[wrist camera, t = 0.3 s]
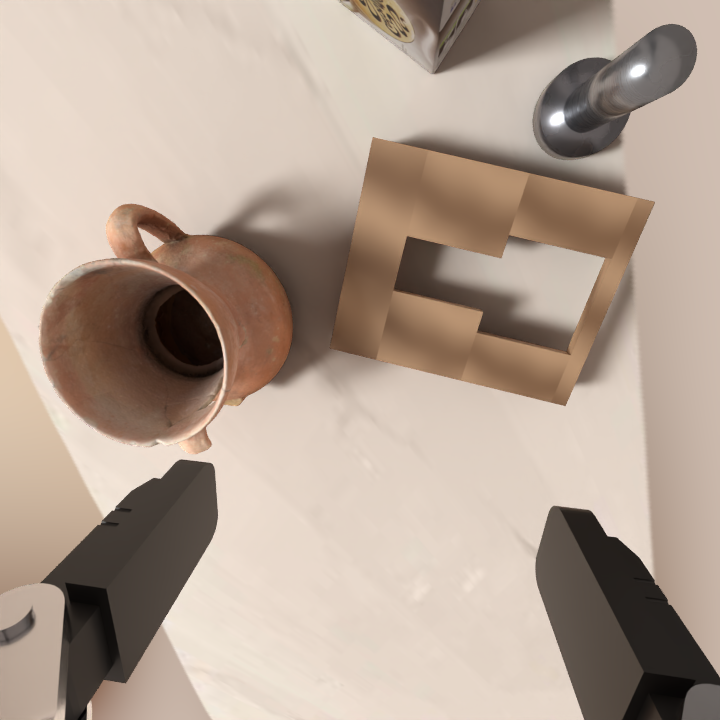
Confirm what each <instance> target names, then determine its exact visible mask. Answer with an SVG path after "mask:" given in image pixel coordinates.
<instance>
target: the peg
mask: <svg viewBox="0 0 720 720" xmlns="http://www.w3.org/2000/svg"><path fill="white" fill-rule="evenodd" d="M696 47H697V46H696V42H695V39H694V37H693V35H692V34H691V32H690V31H689V30H687V29H686V28H685V27H683V26H680V25H676V24H668V25H663V26H660V27H658V28H655V29H654V30H652V31H651V32H649V33H648V34H647V35H646V36H644V37H643V38H641V39H640V40H639V41H638V42H636V43H635V44H634V45H632V46H631V47H630V48H628V49H627V50H626V51H624V52H623V53H622V54H621V55H619V56H618V57H617V58H615V59H614V60H613V61H610V60H608V59H604V58H587V59H583V60H580V61H578V62H575V63H573V64H572V65H570V66H568V67H567V68H566V69H564V70H563V71H562V72H561V73H560V74H559V75H558V76H557V77H556V78H555V79H553V80H552V81H551V82H550V83H549V84H548V85H547V87H546V88H545V89H544V90H543V92H542V93H541V95H540V97H539V99H538V101H537V103H536V106H535V110H534V114H533V131H534V135H535V138H536V140H537V142H538V144H539V146H540V147H541V148H542V149H543V150H544V151H545V152H546V153H547V154H549V155H550V156H552V157H554V158H557V159H561V160H574V159H579V158H582V157H585V156H588V155H591V154H593V153H596V152H598V151H600V150H602V149H604V148H605V147H606V146H608V145H609V144H610V143H611V142H613V141H614V140H615V139H616V138H617V136H618V135H619V134H620V133H621V131H622V130H623V128H624V127H625V125H626V123H627V121H628V118H629V115H630V112H632V111H634V110H636V109H638V108H640V107H642V106H644V105H646V104H648V103H650V102H652V101H654V100H657V99H658V98H661V97H663V96H665V95H667V94H669V93H671V92H673V91H674V90H676V89H677V88H678V87H680V86H681V85H682V84H683V83H684V82H685V81H686V79H687V78H688V77H689V75H690V74H691V71H692V70H693V68H694V65H695V61H696V56H697V48H696Z"/></svg>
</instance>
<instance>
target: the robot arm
mask: <svg viewBox="0 0 720 720" xmlns="http://www.w3.org/2000/svg"><path fill="white" fill-rule="evenodd" d="M217 519H218V509H217V495H216V481H215V469H214V466H213V464H211V463H206V462H198V461H190V460H179V461H177V462H176V463H175V464H174V465H173V466H172V467H171V468H170V469H169V471H168V472H167V473H166V474H165V475H164V476H163V477H162V478H161V479H158V478H153V479H151V480H149V481H148V482H146V483H144V484H143V485H141V486H139V487H137V488H136V489H134V490H132V491H131V492H130V493H129V494H128V495H127V496H126V497H125V498H124V499H123V500H122V501H121V502H120V503H119V504H118V505H117V506H116V508H115V511H111V512H110V513H109V514H108V515H107V516H106V517H105V518H104V519H103V520H102V523H101V525H97V526H96V527H95V528H94V529H93V531H92V532H90V534H89V535H88V536H87V537H86V538H85V539H84V540H83V541H82V542H81V543H80V544H79V545H78V546H77V547H76V548H75V549H74V550H73V551H72V552H71V553H70V554H69V555H68V556H67V557H66V558H65V559H64V560H63V561H62V562H61V563H60V564H59V565H58V566H57V567H56V568H55V569H54V570H53V571H52V572H51V573H50V574H49V575H48V576H47V577H46V578H45V579H44V580H43V581H42V582H41V583H39V584H38V583H37V584H29V585H25V586H21V587H17V588H15V589H12V590H9V591H7V592H5V593H3V594H1V595H0V720H92V704H91V698H92V697H93V695H94V694H95V692H96V691H97V689H98V688H99V686H100V684H101V683H102V681H103V680H110V681H115V682H121V683H126V682H127V681H128V679H129V677H130V675H131V674H132V672H133V671H134V669H135V667H136V666H137V664H138V662H139V661H140V659H141V657H142V656H143V654H144V652H145V650H146V649H147V647H148V645H149V644H150V642H151V640H152V639H153V637H154V635H155V634H156V632H157V630H158V629H159V627H160V625H161V624H162V622H163V620H164V619H165V617H166V615H167V614H168V612H169V610H170V609H171V607H172V605H173V604H174V602H175V600H176V599H177V597H178V595H179V594H180V592H181V590H182V589H183V587H184V585H185V584H186V582H187V580H188V579H189V577H190V575H191V574H192V572H193V570H194V569H195V567H196V565H197V564H198V562H199V560H200V558H201V557H202V555H203V553H204V552H205V550H206V548H207V547H208V545H209V543H210V542H211V540H212V538H213V535H214V533H215V529H216V525H217ZM536 580H537V585H538V588H539V591H540V594H541V597H542V600H543V603H544V605H545V608H546V611H547V614H548V617H549V620H550V623H551V626H552V628H553V631H554V634H555V637H556V640H557V643H558V646H559V648H560V651H561V654H562V657H563V660H564V663H565V666H566V668H567V671H568V674H569V677H570V680H571V683H572V686H573V688H574V691H575V694H576V697H577V700H578V703H579V706H580V708H581V711H582V714H583V717H584V720H720V677H719V675H718V674H717V673H716V671H715V670H714V668H713V666H712V665H711V664H710V662H709V661H708V659H707V658H706V656H705V655H704V653H703V652H702V650H701V649H700V647H699V646H698V644H697V643H696V641H695V640H694V638H693V637H692V635H691V634H690V632H689V631H688V630H687V628H686V626H685V625H684V623H683V622H682V621H681V619H680V617H679V616H678V614H677V613H676V611H675V610H674V609H673V607H672V606H671V605H668V600H667V598H666V597H665V595H664V594H663V593H662V591H661V589H660V588H659V586H658V585H655V582H654V581H655V580H654V579H653V577H652V576H651V574H650V573H649V571H648V570H647V568H646V567H645V565H644V564H643V562H642V561H641V559H640V558H639V557H638V556H637V555H636V554H635V553H633V552H632V551H631V550H630V549H629V548H628V547H627V546H626V545H624V544H623V543H622V542H621V541H620V540H619V539H618V538H616V537H609V536H607V535H606V533H605V531H604V530H603V528H602V527H601V525H600V523H599V522H598V520H597V519H596V517H595V515H594V514H593V513H592V512H591V511H589V510H584V509H576V508H568V507H560V506H553V507H552V508H551V509H550V511H549V514H548V517H547V521H546V524H545V528H544V532H543V535H542V539H541V542H540V546H539V550H538V553H537V557H536Z"/></svg>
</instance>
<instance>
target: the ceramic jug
mask: <svg viewBox="0 0 720 720" xmlns="http://www.w3.org/2000/svg"><path fill="white" fill-rule="evenodd" d="M137 227H139V228H141V229H143V230H145V231H147V232H149V233H150V234H152V235H153V236H155V237H157V238H158V239H160V240H161V241H162V242H164V243H165V244H163V245H162V246H160V247H159V248H157V249H156V250H154V251H153V252H152V253H150V252H149V251H148V250H147V248H146V246H145V245H144V242H143V240H142V238H141V235H140V233H139V231H138V228H137ZM106 234H107V238H108V241H109V244H110V246H111V248H112V250H113V252H114V253H115V255H116V256H117V258H112V259H104V260H97V261H93V262H89V263H86V264H83V265H81V266H79V267H77V268H75V269H74V270H72V271H71V272H69V273H68V274H66V275H65V276H64V277H63V278H62V279H61V280H60V281H59V282H57V283H56V285H55V286H54V287H53V288H52V290H51V291H50V293H49V295H48V297H47V300H46V302H45V304H44V306H43V309H42V313H41V316H40V325H39V330H40V336H39V349H40V354H41V358H42V360H43V366H44V369H45V372H46V374H47V377H48V379H49V381H50V382H51V384H52V386H53V388H54V390H55V392H56V393H57V395H58V396H59V398H60V399H61V400H62V401H63V402H64V403H65V404H66V405H67V406H68V408H69V409H70V410H71V411H72V413H73V414H74V415H76V416H77V417H78V418H79V419H80V420H81V421H83V422H84V423H85V424H86V425H88V426H89V427H91V428H92V429H94V430H95V431H97V432H98V433H100V434H102V435H104V436H106V437H107V438H110V439H112V440H115V441H118V442H120V443H124V444H128V445H133V446H138V447H152V446H154V445H157V444H160V443H162V444H164V445H166V446H168V445H173V444H177V443H178V444H179V445H180V447H181V448H182V449H183V450H184V451H186V452H188V453H190V454H198V453H200V452H203V451H205V450H207V449H209V448H210V447H211V445H212V443H211V441H210V440H209V438H208V436H207V432H206V426H207V425H208V424H209V423H210V422H211V421H212V420H213V419H214V418H215V417H216V416H217V414H218V413H219V411H220V410H221V408H222V407H223V405H230V406H238V405H240V404H241V402H242V401H243V400H244V399H245V398H246V397H247V396H248V395H250V394H252V393H254V392H256V391H258V390H259V389H261V388H262V387H264V386H265V385H266V384H268V383H269V382H270V381H271V380H272V379H273V378H274V377H275V375H276V374H277V373H278V372H279V370H280V369H281V367H282V366H283V364H284V362H285V360H286V358H287V355H288V353H289V350H290V346H291V341H292V333H293V319H292V312H291V307H290V303H289V300H288V297H287V295H286V292H285V290H284V288H283V286H282V284H281V282H280V281H279V279H278V277H277V276H276V275H275V273H274V272H273V270H272V269H271V268H270V267H269V266H268V265H267V264H266V263H265V262H264V261H263V260H262V259H261V258H260V257H259V256H258V255H256V254H255V253H254V252H252V251H251V250H249V249H248V248H246V247H244V246H243V245H240V244H238V243H236V242H234V241H231V240H229V239H225V238H221V237H217V236H210V235H188V234H185V233H184V232H183V231H182V230H180V229H179V227H177V226H176V224H175V223H173V222H172V221H170V220H169V219H168V218H166V217H165V216H163V215H162V214H160V213H158V212H156V211H154V210H152V209H149V208H147V207H144V206H141V205H137V204H125V205H121V206H119V207H118V208H116V209H115V210H114V211H113V213H112V214H111V215H110V217H109V219H108V222H107V224H106ZM212 401H215V402H214V403H212V404H211V405H210V406H208V405H209V404H210V403H211V402H212Z"/></svg>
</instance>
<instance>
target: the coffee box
mask: <svg viewBox="0 0 720 720" xmlns="http://www.w3.org/2000/svg"><path fill="white" fill-rule="evenodd" d="M338 1H339V2H340V3H342V4H343V5H344V6H345V7H347V8H348V9H349V10H351V11H352V12H353V13H354V14H356V15H357V16H358V17H359V18H361V19H362V20H363V21H365V22H366V23H367V24H368V25H370V26H371V27H372V28H373V29H375V30H376V31H377V32H379V33H380V34H381V35H382V36H384V37H385V38H386V39H387V40H389V41H390V42H391V43H393V44H394V45H395V46H396V47H398V48H399V49H400V50H401V51H403V52H404V53H405V54H407V55H408V56H409V57H410V58H412V59H413V60H414V61H416V62H417V63H418V64H419V65H421V66H422V67H423V68H424V69H426V70H427V71H428V72H429V73H431V74H434V73H435V71H436V70H437V68H438V67H439V65H440V64H441V62H442V60H443V59H444V57H445V56H446V54H447V53H448V51H449V50H450V48H451V46H452V45H453V43H454V42H455V40H456V39H457V37H458V36H459V34H460V32H461V31H462V29H463V28H464V26H465V25H466V23H467V21H468V20H469V18H470V17H471V15H472V13H473V12H474V10H475V9H476V7H477V5H478V4H479V2H480V0H338Z"/></svg>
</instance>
